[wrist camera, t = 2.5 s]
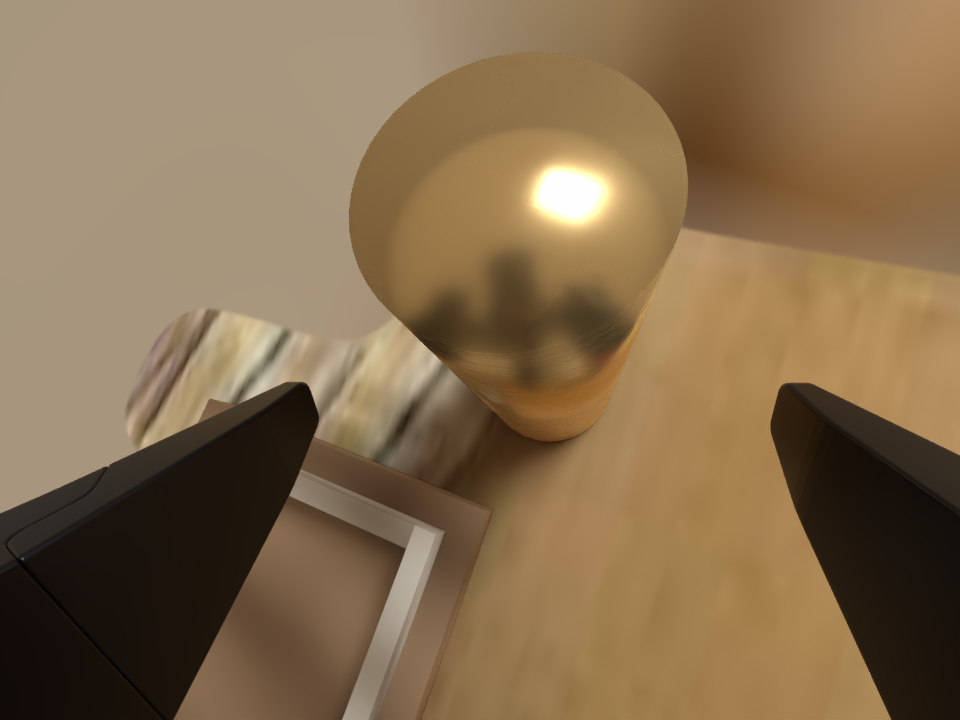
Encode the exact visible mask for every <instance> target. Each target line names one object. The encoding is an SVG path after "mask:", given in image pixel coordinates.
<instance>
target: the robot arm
mask: <svg viewBox="0 0 960 720" xmlns="http://www.w3.org/2000/svg"><path fill="white" fill-rule="evenodd" d="M318 422H319V415H318V411H317V408H316V405H315V402H314V399H313V396H312V393H311V390H310V388H309V386H308V385H307V384H306V383H304V382H285V383H283V384H281V385H279V386H277V387H274V388H272V389H270V390H268V391H266V392H264V393H262V394H259V395H257V396H255V397H253V398H251V399H249V400H247V401H244V402H242V403H240V404H238V405H236V406H234V407H232V408H229V409H227V410H225V411H223V412H221V413H219V414H217V415H214V416H212V417H210V418H208V419H206V420H204V421H202V422H200V423H197V424H195V425H193V426H191V427H189V428H187V429H185V430H182V431H180V432H178V433H176V434H174V435H172V436H170V437H167V438H165V439H163V440H161V441H159V442H157V443H155V444H152V445H150V446H148V447H146V448H144V449H142V450H140V451H137V452H135V453H133V454H131V455H129V456H127V457H125V458H123V459H120V460H118V461H116V462H114V463H112V464H110V465H109V467H103V468H101V469H99V470H97V471H95V472H93V473H90V474H88V475H86V476H84V477H82V478H79V479H77V480H75V481H73V482H71V483H68V484H66V485H64V486H62V487H60V488H58V489H55V490H53V491H51V492H49V493H46V494H44V495H42V496H40V497H37V498H35V499H33V500H30V501H28V502H26V503H23V504H21V505H19V506H17V507H14V508H12V509H10V510H7V511H5V512H2V513H0V720H174V718H175V716H176V714H177V712H178V710H179V708H180V707H181V705H182V703H183V701H184V699H185V697H186V695H187V693H188V691H189V689H190V687H191V685H192V683H193V681H194V679H195V677H196V675H197V674H198V672H199V670H200V668H201V666H202V664H203V662H204V660H205V658H206V656H207V654H208V652H209V650H210V648H211V646H212V644H213V643H214V641H215V639H216V637H217V635H218V633H219V631H220V629H221V627H222V625H223V623H224V621H225V619H226V617H227V615H228V613H229V612H230V610H231V608H232V606H233V604H234V602H235V600H236V598H237V596H238V594H239V592H240V590H241V588H242V586H243V584H244V582H245V581H246V579H247V577H248V575H249V573H250V571H251V569H252V567H253V565H254V563H255V561H256V559H257V557H258V555H259V553H260V551H261V549H262V548H263V546H264V544H265V542H266V540H267V538H268V536H269V534H270V532H271V530H272V528H273V526H274V524H275V522H276V520H277V518H278V517H279V515H280V513H281V511H282V509H283V507H284V505H285V503H286V501H287V499H288V497H289V495H290V493H291V491H292V489H293V487H294V485H295V482H296V480H297V478H298V475H299V473H300V470H301V467H302V465H303V462H304V460H305V457H306V455H307V452H308V449H309V447H310V444H311V442H312V439H313V437H314V434H315V431H316V429H317V426H318ZM770 427H771V435H772V438H773V441H774V444H775V447H776V451H777V454H778V457H779V460H780V463H781V466H782V470H783V473H784V476H785V479H786V482H787V486H788V489H789V492H790V495H791V498H792V501H793V504H794V507H795V510H796V512H797V514H798V517H799V519H800V521H801V524H802V526H803V528H804V530H805V533H806V535H807V537H808V539H809V541H810V543H811V546H812V548H813V550H814V552H815V554H816V557H817V559H818V561H819V563H820V565H821V567H822V570H823V572H824V574H825V576H826V578H827V581H828V583H829V585H830V587H831V589H832V591H833V594H834V596H835V598H836V600H837V602H838V605H839V607H840V609H841V611H842V613H843V615H844V618H845V620H846V622H847V624H848V626H849V628H850V631H851V633H852V635H853V637H854V639H855V642H856V644H857V646H858V648H859V650H860V652H861V655H862V657H863V659H864V661H865V663H866V666H867V668H868V670H869V672H870V674H871V676H872V679H873V681H874V683H875V685H876V687H877V690H878V692H879V694H880V696H881V698H882V700H883V703H884V705H885V707H886V709H887V711H888V714H889V716H890V718H891V720H960V455H958V454H956V453H954V452H952V451H950V450H948V449H946V448H943V447H941V446H939V445H937V444H935V443H933V442H931V441H929V440H927V439H925V438H923V437H921V436H919V435H917V434H915V433H913V432H910V431H908V430H906V429H904V428H902V427H900V426H898V425H896V424H894V423H892V422H890V421H888V420H886V419H884V418H882V417H879V416H877V415H875V414H873V413H871V412H869V411H867V410H865V409H863V408H861V407H859V406H857V405H855V404H853V403H851V402H849V401H846V400H844V399H842V398H840V397H838V396H836V395H834V394H832V393H830V392H828V391H826V390H824V389H822V388H820V387H818V386H816V385H813V384H811V383H785V384H783V385H782V386H781V387H780V389H779V392H778V395H777V399H776V403H775V407H774V411H773V415H772V419H771V425H770Z"/></svg>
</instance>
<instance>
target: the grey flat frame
mask: <svg viewBox="0 0 960 720" xmlns="http://www.w3.org/2000/svg"><path fill="white" fill-rule="evenodd" d="M234 406H236V405H234V404H230V403H226V402H221V401H217V400H213V399H209V401H208V403H207V405H206V407H205V409H204V411H203V414H202V416H201V418H200V420H199V422H198V423H200V422H202V421H204V420H206V419H208V418H210V417H212V416H214V415H217V414H219V413H221V412H223V411H225V410H227V409H229V408H232V407H234ZM492 513H493V509H491V508H488V507H486V506H483V505H481V504H479V503H476V502H474V501H471V500H469V499H466V498H464V497H461V496H459V495H456V494H454V493H451V492H449V491H446V490H444V489H441V488H439V487H436V486H434V485H432V484H429V483H427V482H424V481H422V480H419V479H417V478H414V477H412V476H409V475H407V474H404V473H402V472H399V471H397V470H394V469H392V468H389V467H387V466H385V465H382V464H380V463H377V462H375V461H372V460H370V459H367V458H365V457H362V456H360V455H357V454H355V453H352V452H350V451H347V450H345V449H342V448H340V447H338V446H335V445H333V444H330V443H328V442H325V441H323V440H320V439H318V438H315V437H313V439H312V442H311V444H310V447H309V449H308V452H307V455H306V457H305V460H304V462H303V465H302V467H301V470H300V473H299V475H298V478H297V480H296V482H295V485H294V487H293V489H292V491H291V493H290V495H289V497H288V499H287V501H286V503H285V505H284V507H283V509H282V511H281V513H280V515H279V517H278V518H277V520H276V522H275V524H274V526H273V528H272V530H271V532H270V534H269V536H268V538H267V540H266V542H265V544H264V546H263V548H262V549H261V551H260V553H259V555H258V557H257V559H256V561H255V563H254V565H253V567H252V569H251V571H250V573H249V575H248V577H247V579H246V581H245V582H244V584H243V586H242V588H241V590H240V592H239V594H238V596H237V598H236V600H235V602H234V604H233V606H232V608H231V610H230V612H229V613H228V615H227V617H226V619H225V621H224V623H223V625H222V627H221V629H220V631H219V633H218V635H217V637H216V639H215V641H214V643H213V644H212V646H211V648H210V650H209V652H208V654H207V656H206V658H205V660H204V662H203V664H202V666H201V668H200V670H199V672H198V674H197V675H196V677H195V679H194V681H193V683H192V685H191V687H190V689H189V691H188V693H187V695H186V697H185V699H184V701H183V703H182V705H181V707H180V708H179V710H178V712H177V714H176V716H175V718H174V720H421V718H422V715H423V712H424V709H425V706H426V704H427V701H428V698H429V695H430V692H431V689H432V686H433V683H434V680H435V678H436V675H437V672H438V669H439V666H440V663H441V660H442V657H443V654H444V651H445V649H446V646H447V643H448V640H449V637H450V634H451V631H452V628H453V625H454V623H455V620H456V617H457V614H458V611H459V608H460V605H461V602H462V599H463V596H464V594H465V591H466V588H467V585H468V582H469V579H470V576H471V573H472V570H473V568H474V565H475V562H476V559H477V556H478V553H479V550H480V547H481V544H482V541H483V539H484V536H485V533H486V530H487V527H488V524H489V521H490V518H491V515H492Z"/></svg>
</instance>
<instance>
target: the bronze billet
mask: <svg viewBox="0 0 960 720" xmlns="http://www.w3.org/2000/svg"><path fill="white" fill-rule="evenodd" d="M687 192H688V177H687V168H686V160H685V157H684V153H683V150H682V146H681V142H680V140H679V138H678V136H677V133H676V131H675V129H674V127H673V125H672V123H671V121H670V120H669V119H668V117H667V116H666V114H665V113H664V111H663V110H662V108H661V107H660V106H659V105H658V104H657V102H656V101H655V100H654V99H653V98H652V97H651V96H650V95H649V94H648V93H647V92H646V91H645V90H644V89H642V88H641V87H640V86H639V85H637V84H636V83H635V82H634V81H632V80H631V79H629V78H627V77H626V76H624V75H623V74H621V73H619V72H618V71H616V70H614V69H611V68H609V67H607V66H605V65H602V64H600V63H598V62H594V61H591V60H588V59H584V58H581V57H577V56H572V55H566V54H560V53H547V52H528V53H514V54H508V55H501V56H496V57H492V58H489V59H484V60H480V61H477V62H474V63H472V64H469V65H466V66H463V67H461V68H458V69H456V70H454V71H452V72H450V73H448V74H446V75H444V76H442V77H440V78H438V79H437V80H435V81H433V82H432V83H430V84H429V85H427V86H425V87H424V88H423V89H421V90H420V91H419V92H417V93H416V94H415V95H413V96H412V97H411V98H409V99H408V100H407V101H406V102H405V103H404V104H403V105H402V106H401V107H400V108H398V109H397V110H396V111H395V112H394V113H393V114H392V116H391V117H390V118H389V119H388V120H387V121H386V123H385V124H384V125H383V126H382V127H381V129H380V130H379V132H378V133H377V135H376V136H375V138H374V139H373V140H372V142H371V144H370V145H369V148H368V149H367V151H366V153H365V155H364V157H363V159H362V161H361V164H360V166H359V169H358V171H357V174H356V177H355V180H354V185H353V189H352V193H351V199H350V209H349V226H350V227H349V229H350V237H351V242H352V248H353V251H354V255H355V257H356V261H357V263H358V267H359V269H360V271H361V273H362V275H363V277H364V279H365V280H366V282H367V284H368V286H369V287H370V288H371V290H372V291H373V293H374V294H375V295H376V297H377V298H378V299H379V301H380V302H381V303H382V304H383V305H385V307H386V308H387V309H388V310H389V311H390V312H391V313H392V314H393V315H394V316H395V317H396V318H397V319H398V320H399V321H401V322H402V323H403V324H404V325H405V326H406V327H407V328H408V329H409V330H410V331H411V332H412V333H413V334H414V335H415V336H416V337H417V338H418V339H419V340H420V341H421V342H422V343H423V344H424V345H425V346H426V347H427V348H428V349H429V350H430V351H432V352H433V353H434V354H435V355H436V356H437V357H438V358H439V359H440V360H441V361H442V362H443V363H444V364H445V365H446V366H447V367H448V368H449V369H450V370H451V371H452V372H453V373H454V374H455V375H456V376H457V377H458V378H459V379H460V380H462V381H463V382H464V383H465V384H466V385H467V386H468V387H469V388H470V389H471V390H472V391H473V392H474V393H475V394H476V395H477V396H478V397H479V398H480V399H481V400H482V401H483V402H484V403H485V404H486V405H487V406H488V407H489V408H490V409H491V410H493V411H494V412H495V413H496V414H497V415H498V416H499V417H500V418H501V419H502V420H503V421H504V422H505V423H506V424H507V425H508V426H509V427H510V428H512V429H513V430H514V431H516V432H518V433H519V434H521V435H523V436H525V437H528V438H530V439H534V440H538V441H546V442H554V441H562V440H566V439H570V438H572V437H575V436H577V435H579V434H581V433H583V432H584V431H586V430H587V429H588V428H590V427H591V426H592V425H593V424H594V423H595V422H596V421H597V420H598V419H599V417H600V416H601V415H602V413H603V411H604V410H605V408H606V406H607V404H608V401H609V399H610V396H611V394H612V392H613V389H614V387H615V385H616V382H617V380H618V378H619V375H620V373H621V370H622V368H623V366H624V363H625V361H626V359H627V356H628V354H629V352H630V349H631V347H632V344H633V342H634V340H635V337H636V335H637V333H638V330H639V328H640V326H641V323H642V321H643V318H644V316H645V314H646V311H647V309H648V307H649V304H650V302H651V300H652V297H653V295H654V292H655V290H656V288H657V285H658V283H659V281H660V278H661V276H662V274H663V271H664V269H665V266H666V264H667V262H668V259H669V257H670V255H671V252H672V250H673V248H674V245H675V243H676V240H677V237H678V235H679V232H680V229H681V227H682V224H683V219H684V214H685V210H686V205H687Z"/></svg>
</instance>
